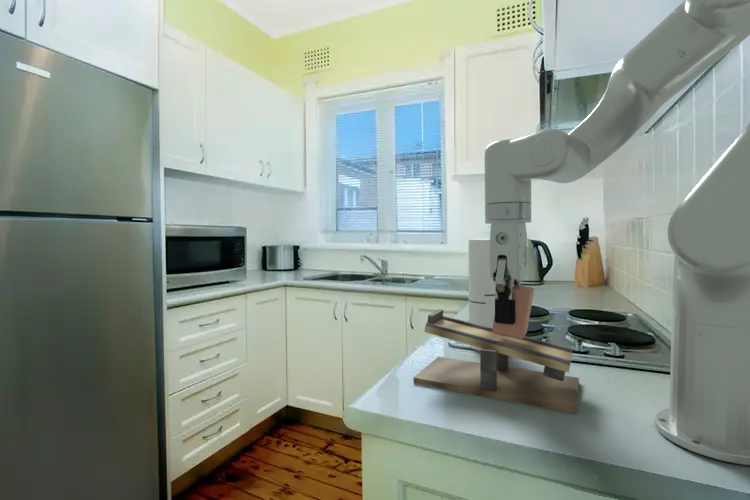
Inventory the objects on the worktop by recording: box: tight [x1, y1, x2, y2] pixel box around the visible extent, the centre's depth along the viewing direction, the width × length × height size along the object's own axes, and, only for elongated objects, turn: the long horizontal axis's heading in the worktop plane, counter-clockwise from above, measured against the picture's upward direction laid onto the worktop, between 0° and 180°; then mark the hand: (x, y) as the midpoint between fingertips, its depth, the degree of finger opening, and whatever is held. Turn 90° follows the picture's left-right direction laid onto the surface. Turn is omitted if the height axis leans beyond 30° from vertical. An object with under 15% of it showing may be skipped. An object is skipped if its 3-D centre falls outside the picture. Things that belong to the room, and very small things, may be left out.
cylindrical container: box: [468, 238, 496, 352], centre depth 92 cm, size 7×7×25 cm
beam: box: [424, 308, 574, 381], centre depth 70 cm, size 24×8×5 cm, turn 61°
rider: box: [492, 284, 535, 339], centre depth 68 cm, size 5×5×8 cm
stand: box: [413, 348, 580, 415], centre depth 70 cm, size 26×13×8 cm, turn 61°
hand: (508, 318), depth 69 cm, fingers closed on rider, 5 cm apart
